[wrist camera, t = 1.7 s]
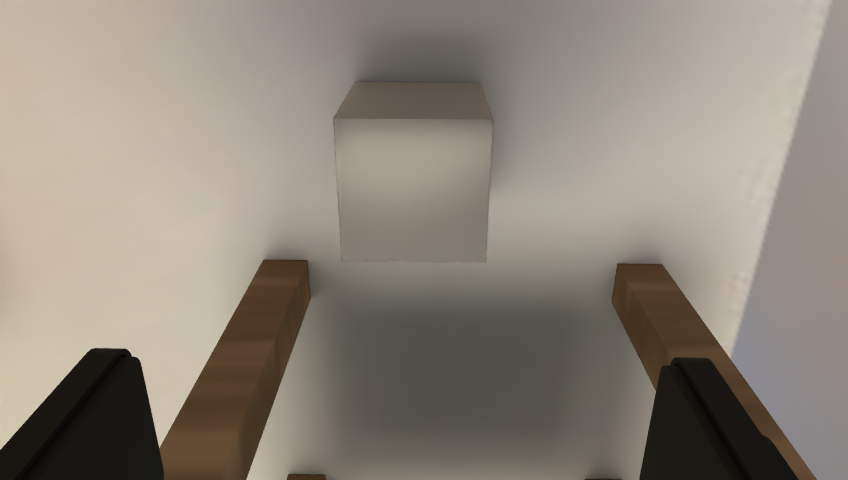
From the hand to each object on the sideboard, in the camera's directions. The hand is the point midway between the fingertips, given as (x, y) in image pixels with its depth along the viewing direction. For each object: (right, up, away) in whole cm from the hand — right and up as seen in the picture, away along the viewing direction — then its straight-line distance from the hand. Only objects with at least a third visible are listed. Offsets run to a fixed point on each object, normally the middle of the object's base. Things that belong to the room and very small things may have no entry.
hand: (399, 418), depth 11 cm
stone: (0, +7, +15) cm, 17 cm away
